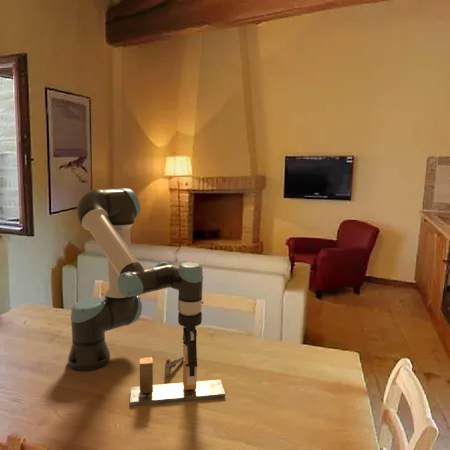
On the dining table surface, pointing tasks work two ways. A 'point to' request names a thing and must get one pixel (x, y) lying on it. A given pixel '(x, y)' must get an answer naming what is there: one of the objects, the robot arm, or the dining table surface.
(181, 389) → the bar
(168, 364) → the caliper
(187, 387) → the slide leg
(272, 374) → the dining table surface
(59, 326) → the dining table surface
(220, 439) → the dining table surface
